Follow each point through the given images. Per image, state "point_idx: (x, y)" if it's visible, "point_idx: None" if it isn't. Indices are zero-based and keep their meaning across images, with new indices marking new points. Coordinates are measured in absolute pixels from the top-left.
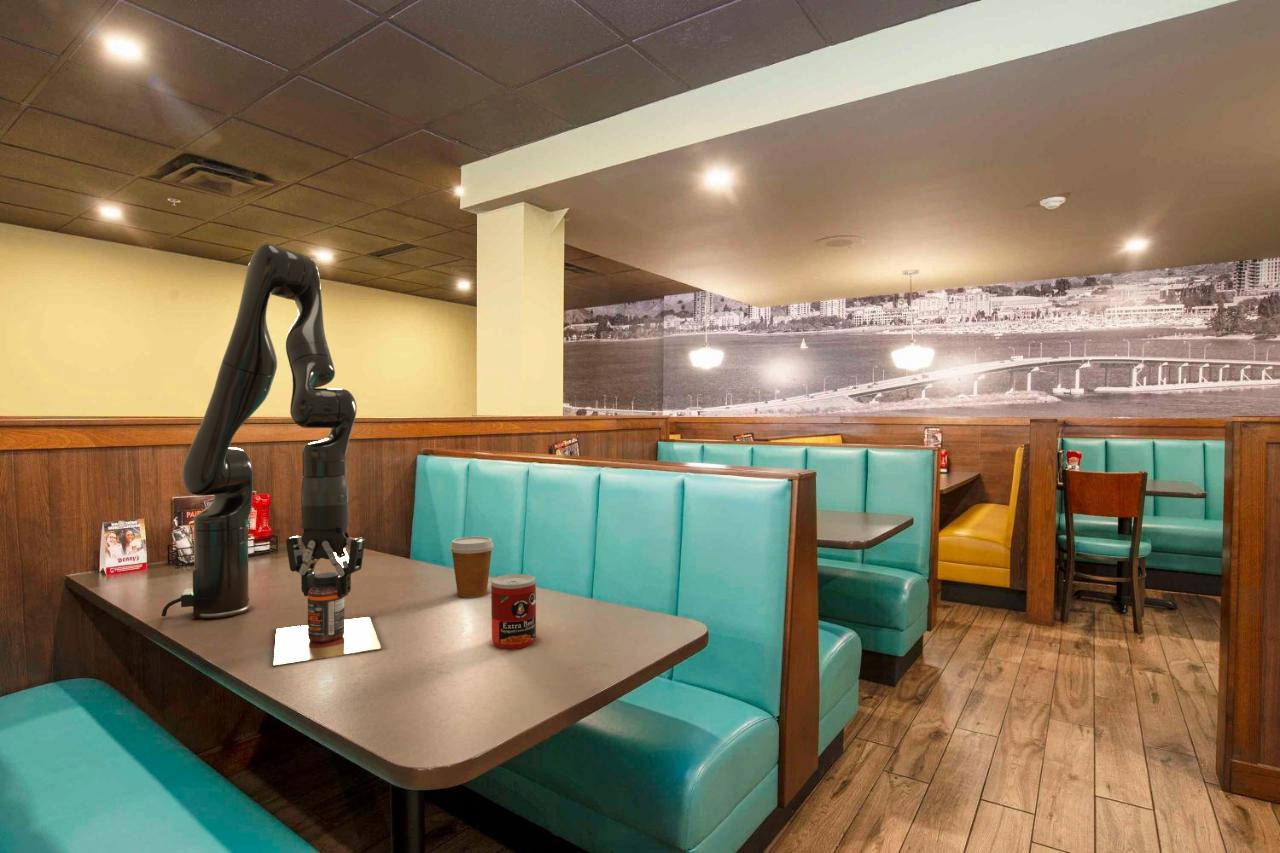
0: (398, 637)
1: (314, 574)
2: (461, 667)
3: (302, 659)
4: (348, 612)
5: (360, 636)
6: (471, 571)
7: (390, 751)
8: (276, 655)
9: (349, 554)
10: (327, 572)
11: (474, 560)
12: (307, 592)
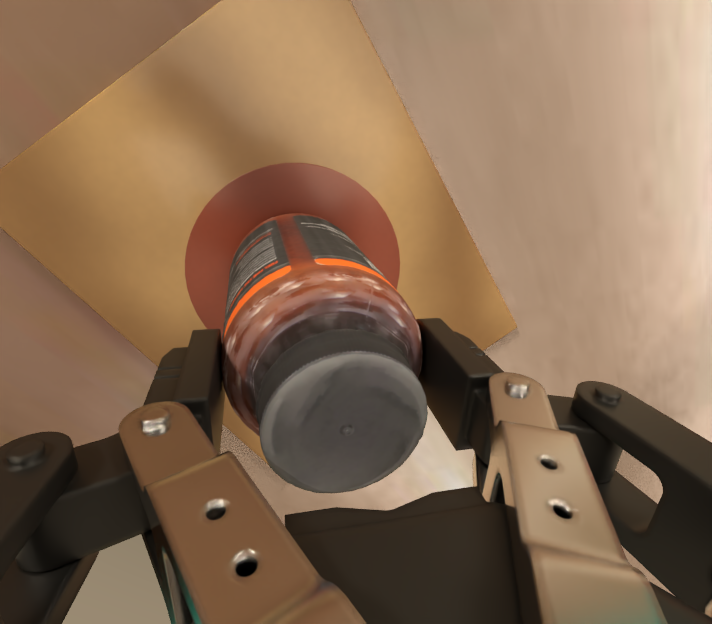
0: (534, 215)
1: (210, 397)
2: (708, 386)
3: None
4: None
5: (411, 239)
6: None
7: None
8: (243, 435)
9: (672, 591)
10: (319, 379)
11: None
12: (223, 400)
